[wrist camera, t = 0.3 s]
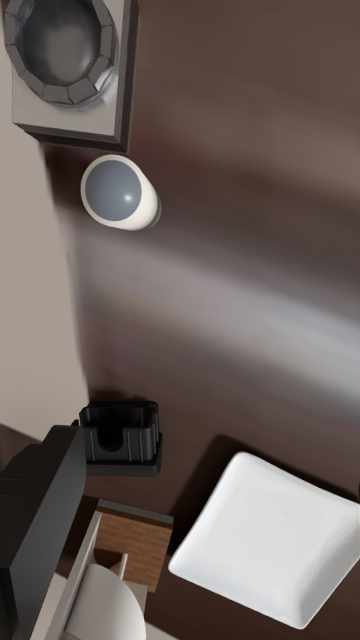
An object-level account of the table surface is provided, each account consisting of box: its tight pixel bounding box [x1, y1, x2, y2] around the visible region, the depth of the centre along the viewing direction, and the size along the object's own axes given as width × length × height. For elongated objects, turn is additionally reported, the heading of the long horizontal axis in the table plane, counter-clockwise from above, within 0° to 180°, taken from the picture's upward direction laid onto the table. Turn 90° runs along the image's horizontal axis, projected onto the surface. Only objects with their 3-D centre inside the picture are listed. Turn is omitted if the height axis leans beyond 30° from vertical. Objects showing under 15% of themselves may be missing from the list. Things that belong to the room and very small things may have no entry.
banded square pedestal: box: [5, 0, 141, 156], centre depth 27 cm, size 12×9×8 cm
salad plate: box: [168, 452, 360, 629], centre depth 41 cm, size 21×21×3 cm
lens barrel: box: [81, 155, 162, 232], centre depth 29 cm, size 5×5×10 cm
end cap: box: [71, 401, 162, 477], centre depth 37 cm, size 10×7×7 cm
